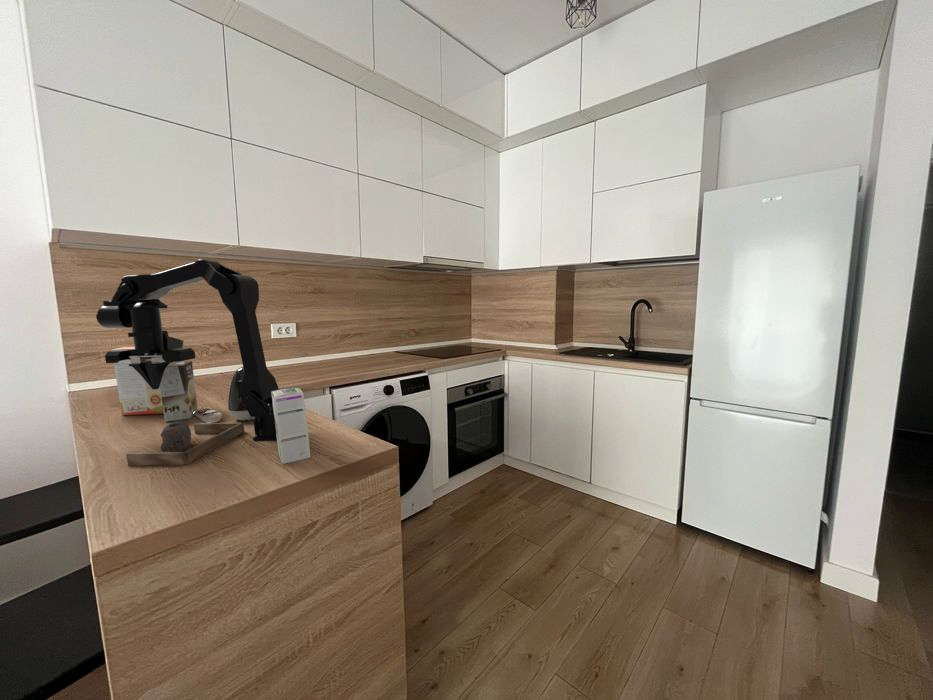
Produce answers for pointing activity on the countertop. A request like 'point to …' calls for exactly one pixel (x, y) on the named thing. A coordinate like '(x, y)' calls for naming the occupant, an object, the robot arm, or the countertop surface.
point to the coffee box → (178, 391)
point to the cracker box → (135, 390)
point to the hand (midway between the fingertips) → (155, 389)
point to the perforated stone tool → (176, 437)
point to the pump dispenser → (233, 401)
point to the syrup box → (290, 425)
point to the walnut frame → (188, 456)
